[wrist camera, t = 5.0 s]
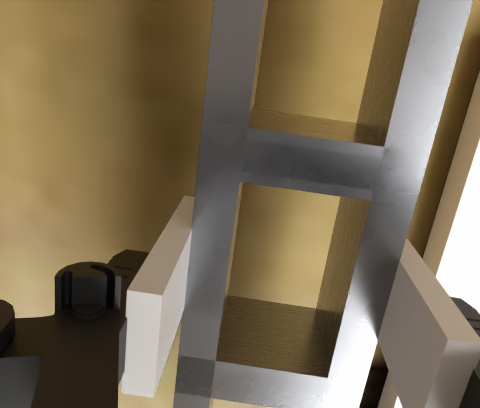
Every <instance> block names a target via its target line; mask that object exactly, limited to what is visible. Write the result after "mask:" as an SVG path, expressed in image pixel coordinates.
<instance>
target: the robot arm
mask: <svg viewBox="0 0 480 408" xmlns="http://www.w3.org/2000/svg"><path fill="white" fill-rule="evenodd" d="M193 206H194V197H192V196H186V195H184V197H183V199H182V200H181V202H180V204H179V205H178V207H177V209H176V210H175V212H174V214H173V215H172V217H171V219H170V220H169V222H168V223H167V225H166V227H165V228H164V230H163V232H162V233H161V235H160V237H159V238H158V240H157V242H156V243H155V245H154V247H153V248H152V250H151V251H150V253H147V252H140V251H134V250H127V249H126V250H125V251H123V252H121V253H119V254H117V255H115V256H113V258H112V259H111V260H110V261H109V263H108V264H105V263H100V262H80V263H75V264H72V265H68V266H66V267H64V268H63V269H61V270H59V271H58V273H57V274H56V276H55V313H54V315H51V316H46V317H35V318H15V312H14V309H13V306H12V305H11V304H9V303H8V302H7V301H4V300H0V408H118V384H119V382H120V380H121V378H122V392H121V393H124V394H131V395H137V396H143V397H150V398H154V396H155V393H156V390H157V387H158V384H159V381H160V378H161V375H162V372H163V370H164V367H165V364H166V361H167V358H168V355H169V352H170V349H171V346H172V343H173V340H174V337H175V334H176V331H177V328H178V325H179V322H180V319H181V317H182V314H183V311H184V303H185V293H186V284H187V274H188V264H189V255H190V245H191V235H192V229H191V226H192V216H193ZM377 340H378V343H379V345H380V348H381V351H382V354H383V356H384V359H385V362H386V364H387V367H388V370H389V373H390V375H391V378H392V381H393V383H394V386H395V389H396V392H397V394H398V397H399V400H400V402H401V405H402V408H480V314H479V313H478V311H477V310H476V309H475V308H473V307H472V306H471V305H469V304H468V303H467V302H465V301H464V300H462V299H461V298H455V297H450V296H449V295H448V294H447V292H446V291H445V289H444V288H443V287H442V285H441V284H440V283H439V281H438V280H437V279H436V277H435V276H434V274H433V273H432V272H431V270H430V269H429V268H428V266H427V265H426V263H425V262H424V261H423V259H422V258H421V257H420V255H419V254H418V253H417V251H416V250H415V248H414V247H413V246H412V244H411V243H410V242H409V240H408V239H407V238H406V241H405V245H404V248H403V252H402V256H401V259H400V261H399V265H398V268H397V272H396V275H395V279H394V282H393V286H392V289H391V293H390V297H389V300H388V304H387V307H386V311H385V314H384V318H383V321H382V325H381V329H380V332H379V336H378V339H377Z"/></svg>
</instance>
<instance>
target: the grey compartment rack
mask: <svg viewBox="0 0 480 408" xmlns="http://www.w3.org/2000/svg"><path fill="white" fill-rule="evenodd" d="M268 1H269V0H214V8H213V18H212V28H211V38H210V48H209V58H208V68H207V78H206V88H205V98H204V107H203V117H202V127H201V137H200V147H199V157H198V167H197V177H196V187H195V197H194V206H193V216H192V226H191V229H192V235H191V245H190V255H189V264H188V274H187V284H186V293H185V303H184V311H183V315H182V325H181V335H180V345H179V355H178V365H177V375H176V385H175V395H174V404H173V408H212V405H213V398H215V399H221V400H228V401H234V402H240V403H247V404H253V405H259V406H266V407H272V408H359V405H360V402H361V398H362V395H363V391H364V388H365V384H366V380H367V377H368V373H369V370H370V366H371V363H372V359H373V355H374V352H375V348H376V345H377V341H378V340H377V339H378V336H379V332H380V329H381V325H382V321H383V318H384V314H385V311H386V307H387V304H388V300H389V297H390V293H391V289H392V286H393V282H394V279H395V275H396V272H397V268H398V265H399V261H400V259H401V256H402V252H403V248H404V245H405V241H406V238H407V234H408V231H409V227H410V223H411V220H412V216H413V213H414V209H415V206H416V202H417V198H418V195H419V191H420V188H421V184H422V181H423V177H424V173H425V170H426V166H427V163H428V159H429V156H430V152H431V148H432V145H433V141H434V138H435V134H436V131H437V127H438V124H439V120H440V116H441V113H442V109H443V106H444V102H445V99H446V95H447V91H448V88H449V84H450V81H451V77H452V74H453V70H454V66H455V63H456V59H457V56H458V52H459V49H460V45H461V41H462V38H463V34H464V31H465V27H466V24H467V20H468V16H469V13H470V9H471V6H472V2H473V0H383V5H382V9H381V14H380V18H379V23H378V28H377V32H376V37H375V41H374V46H373V51H372V55H371V60H370V64H369V69H368V73H367V78H366V83H365V87H364V92H363V96H362V101H361V106H360V110H359V115H358V119H357V123H351V122H344V121H337V120H330V119H323V118H316V117H309V116H302V115H295V114H288V113H281V112H274V111H267V110H259V109H254V102H255V95H256V87H257V80H258V73H259V66H260V58H261V51H262V44H263V37H264V30H265V22H266V15H267V8H268ZM243 182H244V183H251V184H258V185H265V186H272V187H279V188H286V189H293V190H299V191H306V192H313V193H320V194H327V195H334V196H341V197H340V202H339V206H338V211H337V216H336V220H335V225H334V229H333V234H332V238H331V243H330V248H329V252H328V257H327V261H326V266H325V271H324V275H323V280H322V284H321V289H320V293H319V298H318V303H317V307H316V309H314V308H308V307H301V306H295V305H288V304H281V303H275V302H268V301H262V300H255V299H248V298H242V297H235V296H229V295H228V289H229V282H230V275H231V268H232V261H233V253H234V246H235V239H236V232H237V224H238V217H239V210H240V203H241V196H242V188H243Z"/></svg>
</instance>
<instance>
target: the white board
mask: <svg viewBox="0 0 480 408" xmlns="http://www.w3.org/2000/svg"><path fill="white" fill-rule="evenodd" d="M423 261H424V262H425V263H426V265H427V266H428V268H429V269H430V270H431V272H432V273H433V274H434V276H435V277H436V279H437V280H438V281H439V283H440V284H441V285H442V287H443V288H444V289H445V291H446V292H447V294H448V295H449V296H450V297H455V298H461V299H462V300H464V301H465V302H467V303H468V304H469V305H471V306H472V307H473V308H475V309H476V310H477V311H478V313H479V314H480V71H479V74H478V77H477V81H476V84H475V87H474V90H473V94H472V97H471V100H470V104H469V107H468V110H467V114H466V117H465V120H464V123H463V127H462V130H461V133H460V137H459V140H458V143H457V147H456V150H455V153H454V156H453V160H452V163H451V166H450V170H449V173H448V176H447V180H446V183H445V186H444V190H443V193H442V196H441V199H440V203H439V206H438V209H437V213H436V216H435V219H434V223H433V226H432V229H431V232H430V236H429V239H428V242H427V246H426V249H425V252H424V256H423ZM377 408H402V405H401V402H400V400H399V397H398V394H397V392H396V389H395V386H394V383H393V381H392V378H391V375H390V373H389V371H388V374H387V378H386V381H385V384H384V388H383V391H382V394H381V397H380V401H379V404H378V407H377Z"/></svg>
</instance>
